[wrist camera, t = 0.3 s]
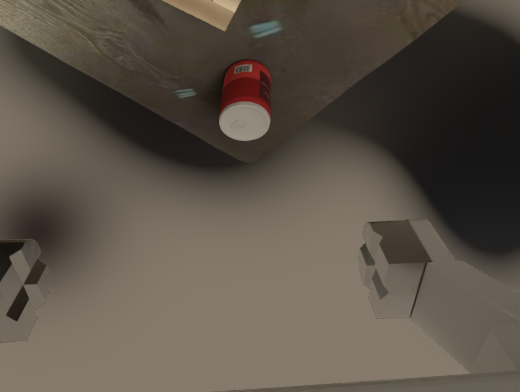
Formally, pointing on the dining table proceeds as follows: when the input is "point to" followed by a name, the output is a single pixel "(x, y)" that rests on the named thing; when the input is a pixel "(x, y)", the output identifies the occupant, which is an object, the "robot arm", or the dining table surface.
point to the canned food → (246, 101)
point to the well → (209, 10)
